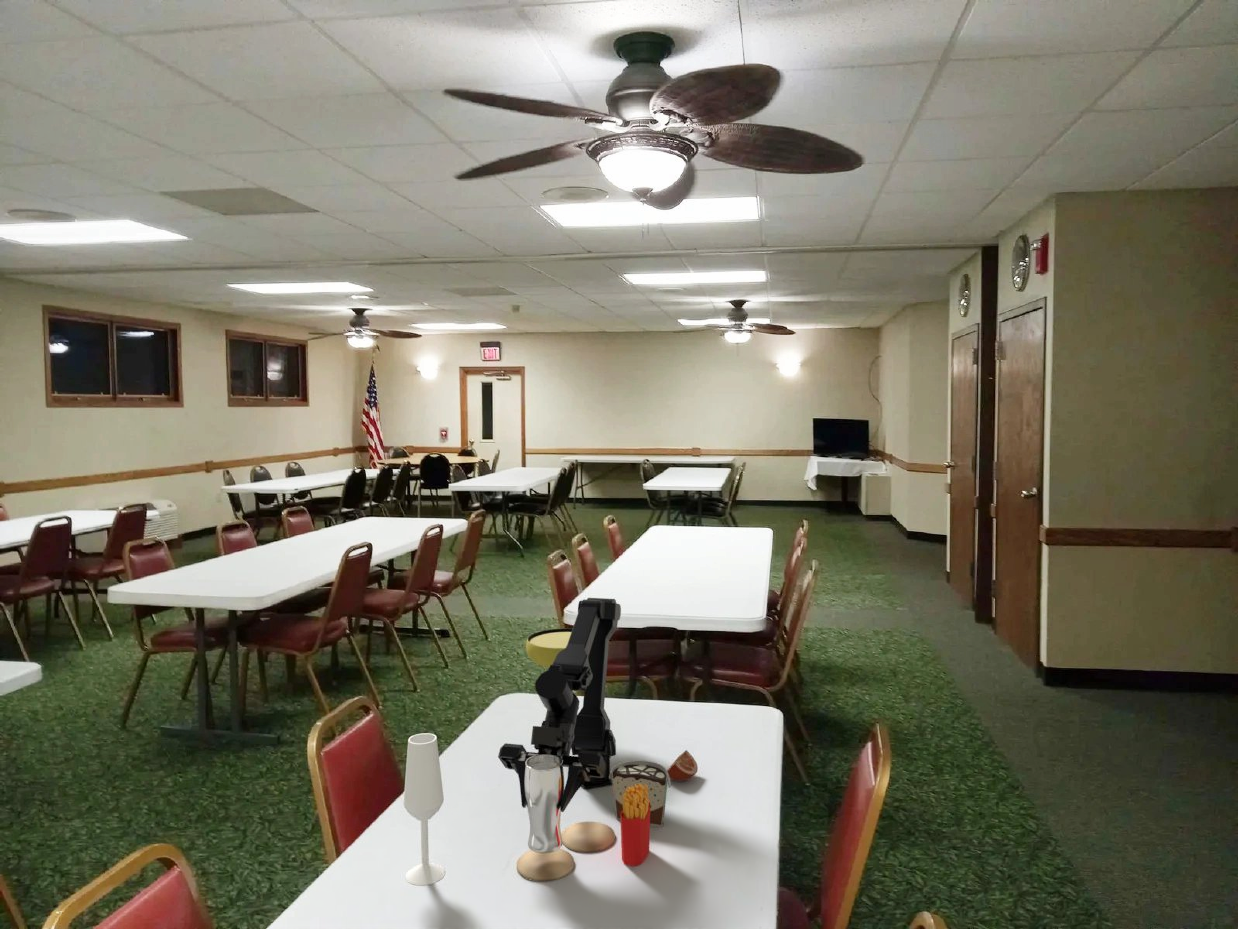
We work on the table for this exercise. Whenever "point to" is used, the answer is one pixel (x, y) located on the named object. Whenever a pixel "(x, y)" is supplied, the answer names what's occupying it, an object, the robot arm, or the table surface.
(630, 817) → the french fries
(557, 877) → the coaster
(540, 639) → the cocktail glass
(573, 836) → the coaster
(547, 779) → the beer glass
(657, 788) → the food container
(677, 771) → the fruit slice
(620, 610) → the robot arm
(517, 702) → the table surface
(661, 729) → the table surface
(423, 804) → the champagne flute
